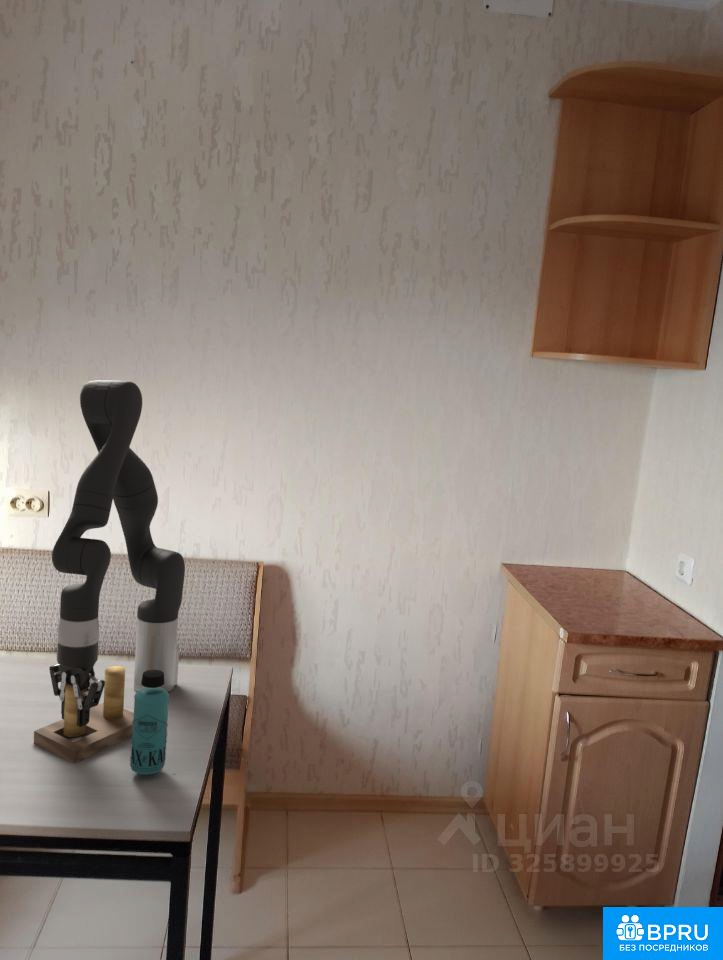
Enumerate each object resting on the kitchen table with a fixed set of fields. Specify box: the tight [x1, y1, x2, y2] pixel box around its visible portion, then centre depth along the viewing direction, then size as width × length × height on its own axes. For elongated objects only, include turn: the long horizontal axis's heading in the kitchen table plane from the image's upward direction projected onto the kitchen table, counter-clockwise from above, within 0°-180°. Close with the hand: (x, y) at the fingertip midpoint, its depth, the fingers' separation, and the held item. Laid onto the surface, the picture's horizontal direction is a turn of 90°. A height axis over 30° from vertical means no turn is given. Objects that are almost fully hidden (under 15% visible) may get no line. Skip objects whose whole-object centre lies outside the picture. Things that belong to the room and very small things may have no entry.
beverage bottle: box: [129, 670, 170, 775], centre depth 147 cm, size 6×7×20 cm
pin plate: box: [33, 665, 134, 764], centre depth 159 cm, size 18×12×12 cm, turn 149°
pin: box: [63, 684, 87, 738], centre depth 156 cm, size 4×4×10 cm
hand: (74, 721), depth 156 cm, fingers closed on pin, 4 cm apart
